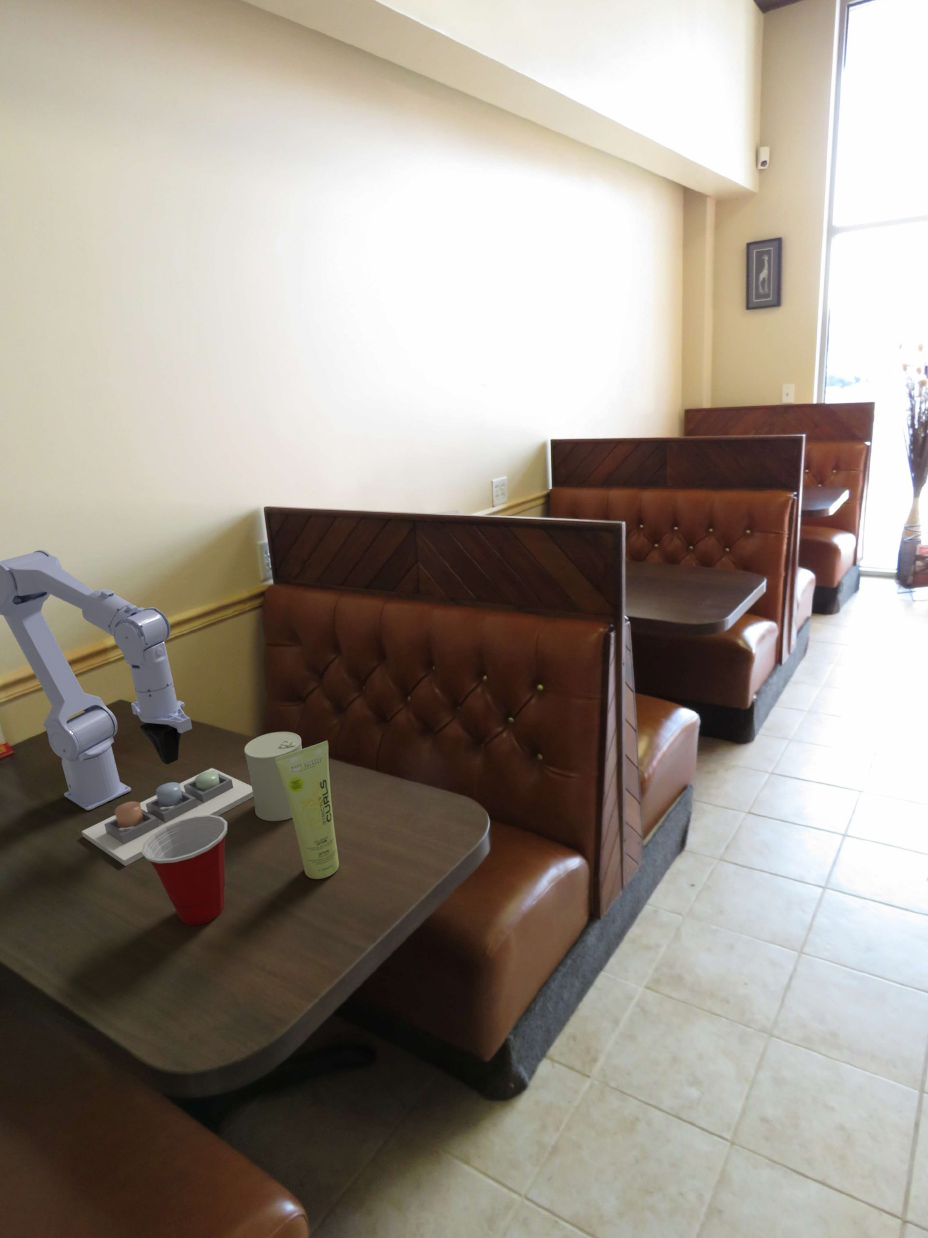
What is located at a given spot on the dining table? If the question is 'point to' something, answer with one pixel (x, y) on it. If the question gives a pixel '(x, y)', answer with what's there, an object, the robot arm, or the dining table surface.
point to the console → (167, 816)
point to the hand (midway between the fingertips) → (170, 761)
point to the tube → (311, 807)
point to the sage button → (207, 781)
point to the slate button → (169, 794)
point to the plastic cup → (191, 865)
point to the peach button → (128, 814)
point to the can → (270, 773)
